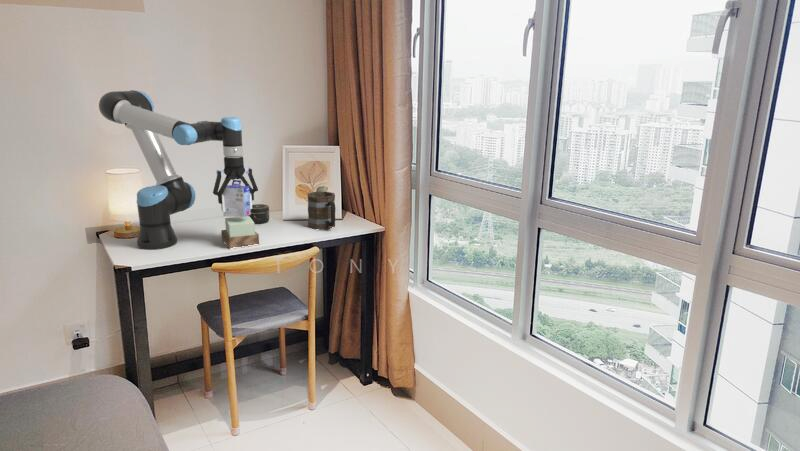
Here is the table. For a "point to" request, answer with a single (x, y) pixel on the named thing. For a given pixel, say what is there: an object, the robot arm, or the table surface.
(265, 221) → the jar
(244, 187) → the ink cartridge box
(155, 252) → the table surface
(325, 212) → the mug
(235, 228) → the sage top block
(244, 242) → the walnut base block
